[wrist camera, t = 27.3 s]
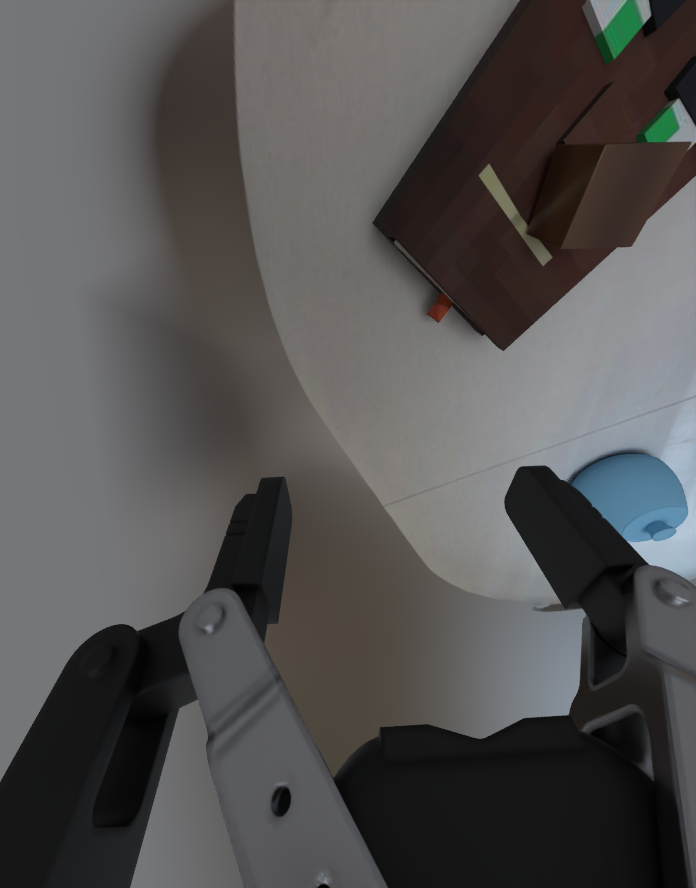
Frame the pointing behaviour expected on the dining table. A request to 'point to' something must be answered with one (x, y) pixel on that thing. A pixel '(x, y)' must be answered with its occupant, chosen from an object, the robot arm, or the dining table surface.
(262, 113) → the dining table surface
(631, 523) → the sugar bowl
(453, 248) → the decorative book
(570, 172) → the walnut block
